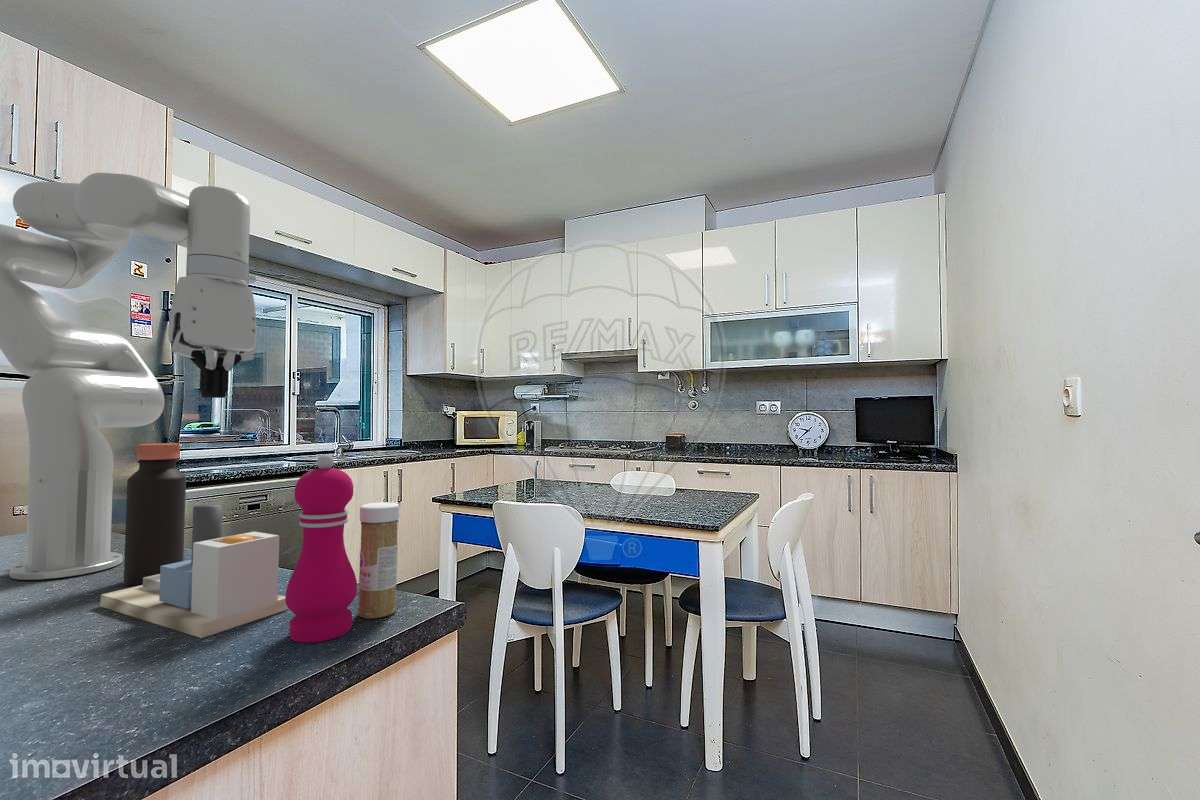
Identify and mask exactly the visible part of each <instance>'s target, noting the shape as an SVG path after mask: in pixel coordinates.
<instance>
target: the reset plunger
mask: <svg viewBox="0 0 1200 800" xmlns="http://www.w3.org/2000/svg"><path fill="white" fill-rule="evenodd" d="M233 535H234V536H233ZM233 535H228V536H224V537H225V538H223V540H222V543H226V544H234V543H240V542H245V541H250V540H253V536H252V535H238V534H233Z"/></svg>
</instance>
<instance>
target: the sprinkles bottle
mask: <svg viewBox="0 0 1200 800" xmlns="http://www.w3.org/2000/svg"><path fill="white" fill-rule="evenodd" d="M399 519H400V505H399V504H398V503H396V502H391V501H390V502H387V501H386V502H385V501H383V502H382V501H381V502H380V501H379V502H370V503H365V504H363V505H361V506H360V507H359V521H360V525H361V526H360V527H361V529H360V532H361V533H360V549H359V572H358V573H359V575H358V590H359V591H358V608H357V611H356V613H357V615H358V616H359V617H360V618H363V619H366V620H368V619H369V620H370V619H371V620H372V619H373V620H374V619H380V618H384V617H386V616H391V615H392V614H394V613H395V612H396V611H397V605H396V599H397V598H396V597H397V591H396V590H397V582H398V581H397V580H398V578H397V577H398V575H397V574H398V549H399V548H398V544H399V543H398V523H399ZM392 590H393V591H392Z"/></svg>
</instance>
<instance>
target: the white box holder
mask: <svg viewBox="0 0 1200 800" xmlns="http://www.w3.org/2000/svg"><path fill="white" fill-rule="evenodd" d="M234 535H235V534H232V536H234ZM237 535H252V536H253V540H250V541H245V542H240V543H234V544H226V543H222V540H223V538H225V537H226V536H224V537H223V536H222V538H217V539H211V540H206V541H201V542H195V543H193V568H192V599H191V613H195V614H198V615H202V616H205V617H209V618H212V619H216V620H217V619H221V618H224V617H227V616H230V615H234V614H237V613H240V612H243V611H246V610H250V609H253V608H256V607H259V606H262V605H266V604H269V603H272V602H275V601H278V595H279V594H278V593H279V560H280V558H279V557H280V535H279V534H273V533H266V532H259V531H250V532H245V533H239V534H237Z"/></svg>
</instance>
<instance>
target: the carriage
mask: <svg viewBox="0 0 1200 800" xmlns="http://www.w3.org/2000/svg"><path fill="white" fill-rule="evenodd" d="M223 505H224V504H222V503H206V504H197V505H194V506H193V507H192V530H191V531H192V532H191V533H192V535H191V559H188V560H183V561H182V562H177V563H172V564H168V565H163V566H160V595H159V601H161V602H165V603H168V604H172V605H176V606H179V607H183V608H186V609H189V608H191V599H192V568H193V543H195V542H201V541H206V540H211V539H217V538H222V537H223V509H224V508H223V507H224V506H223Z"/></svg>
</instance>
